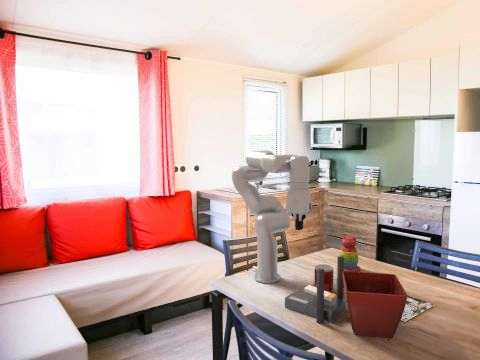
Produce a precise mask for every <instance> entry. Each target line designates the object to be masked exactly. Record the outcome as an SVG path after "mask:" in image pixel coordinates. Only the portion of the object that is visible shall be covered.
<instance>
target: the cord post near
mask: <svg viewBox="0 0 480 360" xmlns="http://www.w3.org/2000/svg"><path fill="white" fill-rule="evenodd" d="M315 319H316V320H315V321H316V324H318V325H323V324H324V322H325V321H324V269H323V268H318V269H317V312H316V318H315Z"/></svg>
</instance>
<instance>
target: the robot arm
mask: <svg viewBox="0 0 480 360" xmlns="http://www.w3.org/2000/svg"><path fill="white" fill-rule="evenodd" d="M309 159H310V158H309V157H308V156H306V155H297V154H276V155H275V154H274V152H272V151H271V150H254V151H251V152H249V153H248V154H247V155H246V157H245V162H246V164H247V165H239V166H237V167H235V168H234V169H232V173H231V181H232V184H233V186H234V188H235V190H236V191H237V192H238V194H239V195H240V196H241V197H242V199H243V201H244V203H245V205H246V207H247V208H248V210H249V211H250V213H251V215H252V216H255V217H256V218H255V221H254V227H255V233H256V243H257V245H256V246H257V247H256V248H257V249H256V250H257V254H256V255H257V259H256V260H257V262H256V263H257V264H256V265H257V266H256V265H253V266H252V268H251V272H254V273H255V275H254V277H253V279H254V280H255V281H256V282H259V283H262V284H274V283H277V282H279V281H280V280H282V279H281V278H282V277H281V275H280V274H279V273H278V241H277V239H276V238H275V237H276V236H274V234H276V233H281V232H285V231H288V230H290V228H291V224H292V223H291V218H290V216H292V218H293V220H294V228H295V231H301V230H303V228H304V221H305V219H306V218H311V217H312V211H313V205H312V204H313V203H312V194H311V190H310V188H309V187H310V186H309V185H310V184H309V181H310V180H309V179H310V177H309V174H310V173H309V172H310V171H309V169H310V168H309V167H310V160H309ZM282 173H283V174H284V173H289V175H290V176H289V182H287V185H288V186H289V188H288V189H287V194H286V200H285V201H286V203H285V207H284V206H283V204H282V202H281V201H280V199H279V198H278V197H276V196H274V195H262V194H260V192H259V190H258V189H257V187H255V186H254V185H253V184H251V183H253V182H261V181H263V180H265V179H266V178H267V176H268V175H269V174H282Z"/></svg>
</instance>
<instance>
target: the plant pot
mask: <svg viewBox="0 0 480 360" xmlns="http://www.w3.org/2000/svg"><path fill="white" fill-rule="evenodd" d="M342 277H343V285H344V298H345V300H346V307H347V311H348V317H349V322H350V327H351V329H352V332H353V335H356V336H366V337H367V336H368V337H376V338H387V339H392V338H393V337H394V336H395V334H396V332H397V330H398V328H399V325H400V323H401V320H402V317H403V315H404V313H405V308H406V304H407V299H408V294H407V292H406V291H405V288H404V286H403V285H402V284H401V282H400V280H399V278H398V275H396V274H394V273H380V272H368V271H367V272H365V271H359V272H352V271H343V272H342Z"/></svg>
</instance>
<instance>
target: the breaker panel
mask: <svg viewBox="0 0 480 360" xmlns="http://www.w3.org/2000/svg"><path fill="white" fill-rule="evenodd" d="M304 288H305V287H300V288H298V289H296V290H295V291H293V292H292V293H290V294H289V295H287V296H286V297H284V309H288V310H291V311H295V312H297V313H300V314H303V315H306V316H309V317H313V318H315V319H316V312H317V296H316V295H313V294H311V293H308V292H306V291H304ZM345 311H347V302H346V299H341V298H336V299H335V300H334V301H332V302H331V301H328V300H326V299H324V322H327V323H331V324H332V323H333V322H335V320H337V319H339V317H340V316H342V314H344V312H345Z"/></svg>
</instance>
